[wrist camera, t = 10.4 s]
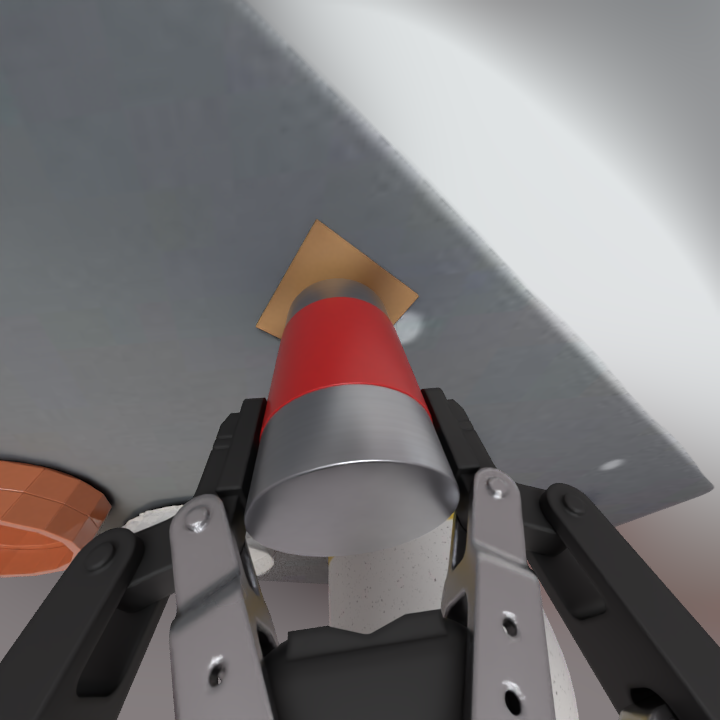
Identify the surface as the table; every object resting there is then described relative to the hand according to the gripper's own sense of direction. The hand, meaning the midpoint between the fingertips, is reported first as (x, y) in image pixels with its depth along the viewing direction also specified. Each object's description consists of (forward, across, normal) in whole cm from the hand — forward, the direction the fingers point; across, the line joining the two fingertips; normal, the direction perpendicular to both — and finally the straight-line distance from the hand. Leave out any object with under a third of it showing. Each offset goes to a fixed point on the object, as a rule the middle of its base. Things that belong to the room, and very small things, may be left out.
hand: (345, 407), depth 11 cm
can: (+7, 0, 0) cm, 7 cm away
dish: (+9, +32, +20) cm, 39 cm away
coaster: (+9, 0, 0) cm, 9 cm away
